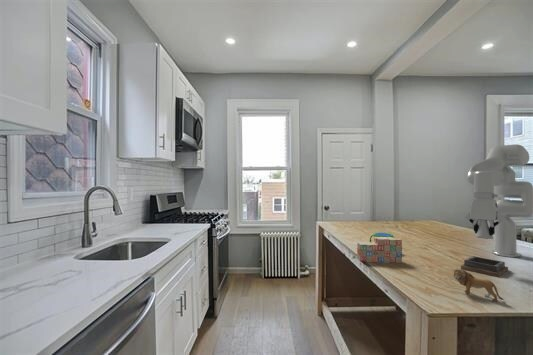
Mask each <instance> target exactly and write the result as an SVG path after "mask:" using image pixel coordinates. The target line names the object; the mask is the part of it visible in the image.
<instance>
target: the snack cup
mask: <svg viewBox="0 0 533 355" xmlns="http://www.w3.org/2000/svg"><path fill="white" fill-rule="evenodd" d="M372 237H373V238H374V237H395V238H397V237H396V236H394V235H393V234H392V233H389V232H375V233H373V234H372V235H371V236H370V237H369V242H372Z"/></svg>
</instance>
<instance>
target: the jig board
mask: <svg viewBox="0 0 533 355" xmlns="http://www.w3.org/2000/svg"><path fill="white" fill-rule="evenodd" d="M460 269H462V270H464V271H469V272H473V273H479V274H483V275H487V276H491V277H496V278H498V277H499V276H501V275H503V274H504V273H506V272H507V271H509V267H508V266H506V262H505V261H501V260H497V259H490V258H486V257H485V258H484V257H480V256H475V255H474V256H471V257H468V258H466V259H464V260H463V264H462V265H460Z"/></svg>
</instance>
